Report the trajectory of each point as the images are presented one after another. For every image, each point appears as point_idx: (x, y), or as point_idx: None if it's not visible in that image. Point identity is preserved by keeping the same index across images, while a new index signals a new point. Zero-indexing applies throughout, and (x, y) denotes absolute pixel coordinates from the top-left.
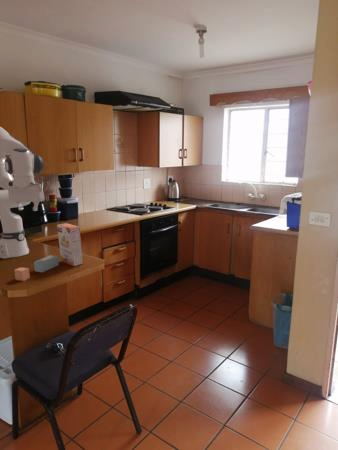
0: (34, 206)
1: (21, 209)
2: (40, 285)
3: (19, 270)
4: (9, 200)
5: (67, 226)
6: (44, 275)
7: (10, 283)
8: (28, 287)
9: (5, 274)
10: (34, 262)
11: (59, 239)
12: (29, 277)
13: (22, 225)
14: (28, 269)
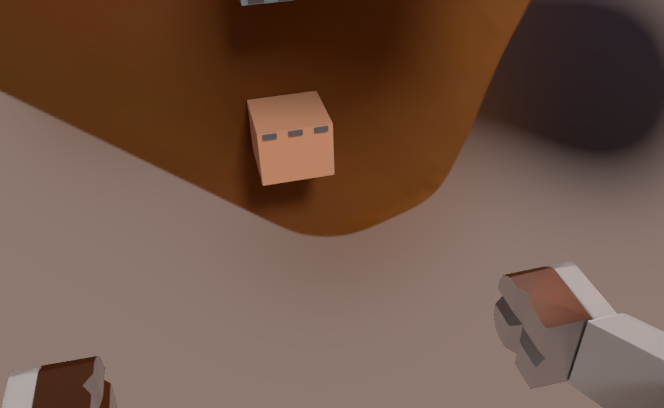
0: (608, 395)
1: (112, 403)
2: (465, 134)
3: (309, 177)
4: None
5: None
6: (373, 12)
7: (276, 193)
8: (420, 178)
9: (81, 123)
10: (249, 4)
11: None
12: (317, 95)
13: None
14: (331, 122)
